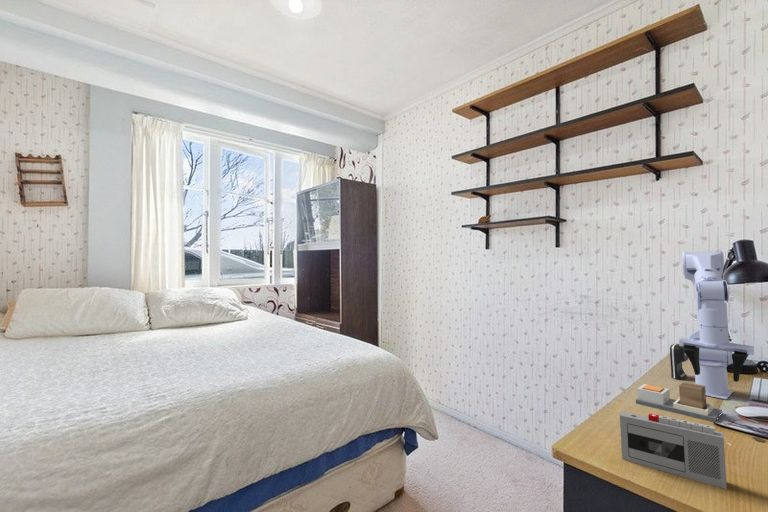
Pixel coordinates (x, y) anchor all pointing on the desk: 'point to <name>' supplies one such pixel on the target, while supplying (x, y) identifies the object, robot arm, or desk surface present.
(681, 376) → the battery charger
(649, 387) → the button
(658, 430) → the cassette player
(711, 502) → the desk surface
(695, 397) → the block
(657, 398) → the grey tray with holders
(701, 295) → the robot arm
